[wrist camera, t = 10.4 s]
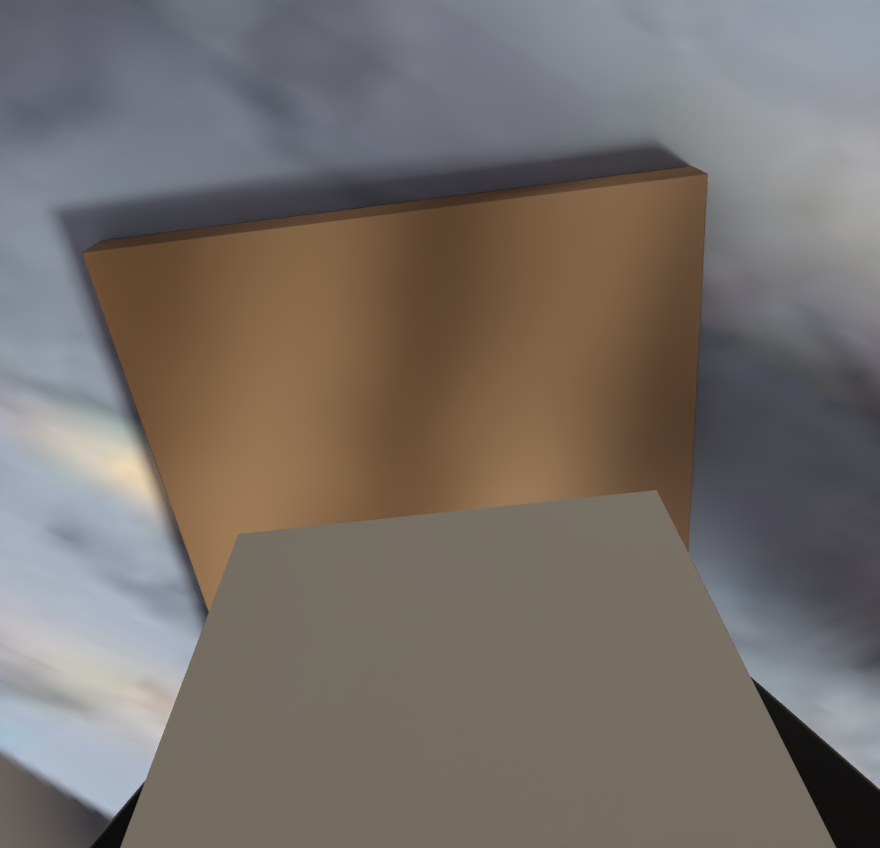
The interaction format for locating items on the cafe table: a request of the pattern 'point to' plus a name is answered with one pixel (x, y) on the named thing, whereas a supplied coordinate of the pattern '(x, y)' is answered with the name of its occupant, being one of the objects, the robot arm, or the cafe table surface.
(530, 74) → the cafe table surface
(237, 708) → the stone
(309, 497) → the board
